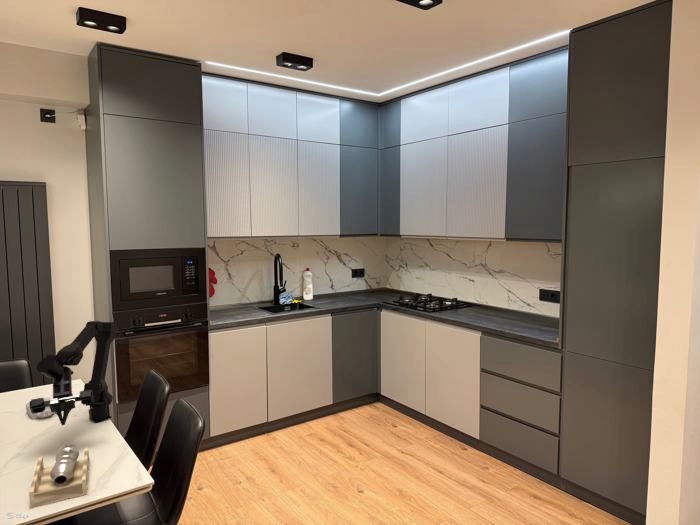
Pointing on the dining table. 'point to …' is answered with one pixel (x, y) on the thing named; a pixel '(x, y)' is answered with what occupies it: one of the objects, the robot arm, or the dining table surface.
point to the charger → (43, 414)
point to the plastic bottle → (64, 464)
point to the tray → (49, 493)
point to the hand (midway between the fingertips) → (63, 424)
